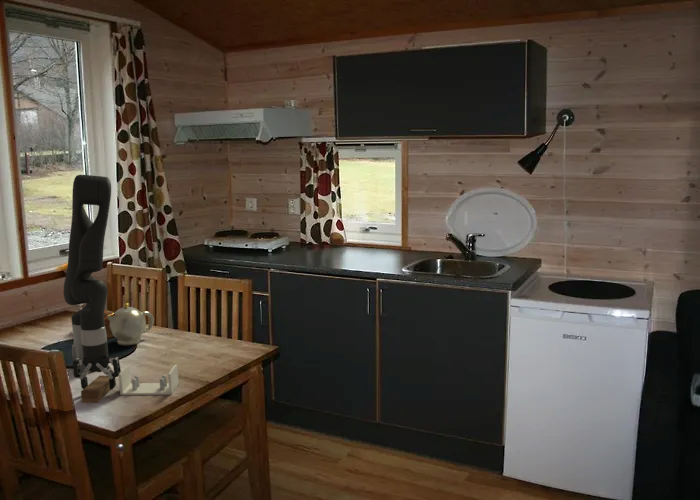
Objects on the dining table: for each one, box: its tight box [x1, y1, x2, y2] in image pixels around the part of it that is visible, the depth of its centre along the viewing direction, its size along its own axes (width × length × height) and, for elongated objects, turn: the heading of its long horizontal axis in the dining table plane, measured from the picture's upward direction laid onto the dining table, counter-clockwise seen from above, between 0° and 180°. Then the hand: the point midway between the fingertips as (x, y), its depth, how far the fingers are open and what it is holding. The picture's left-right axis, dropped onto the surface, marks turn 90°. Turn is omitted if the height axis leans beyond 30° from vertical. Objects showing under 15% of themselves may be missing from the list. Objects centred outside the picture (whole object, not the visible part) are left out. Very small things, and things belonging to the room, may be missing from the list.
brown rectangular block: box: [80, 375, 112, 404], centre depth 205 cm, size 13×5×4 cm, turn 176°
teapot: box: [108, 302, 155, 347], centre depth 254 cm, size 18×14×16 cm
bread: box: [104, 308, 116, 339], centre depth 266 cm, size 19×11×10 cm, turn 45°
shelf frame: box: [118, 364, 180, 396], centre depth 208 cm, size 17×8×7 cm, turn 90°
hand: (98, 389), depth 205 cm, fingers open, 8 cm apart
